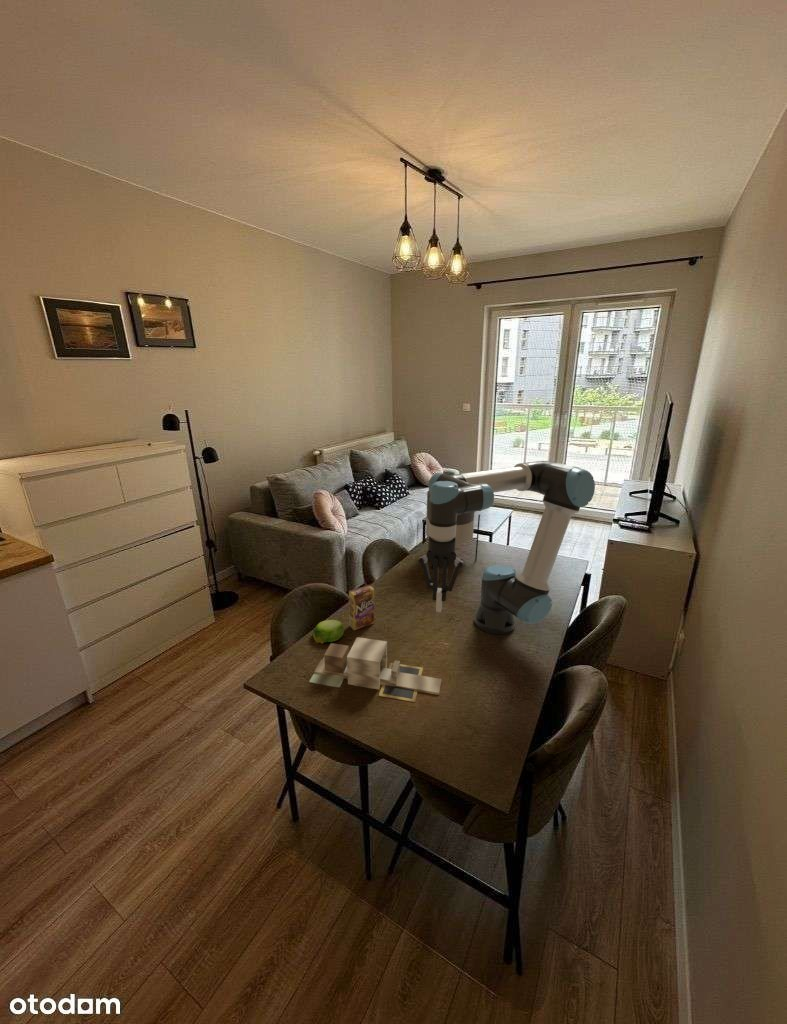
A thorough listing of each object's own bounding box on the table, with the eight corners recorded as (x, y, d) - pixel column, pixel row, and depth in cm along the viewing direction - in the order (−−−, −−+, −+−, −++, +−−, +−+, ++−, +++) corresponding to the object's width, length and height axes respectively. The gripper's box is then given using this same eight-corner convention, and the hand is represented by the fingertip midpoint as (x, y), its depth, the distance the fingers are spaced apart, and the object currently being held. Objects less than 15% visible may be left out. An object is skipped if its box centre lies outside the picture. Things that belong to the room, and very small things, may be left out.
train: (400, 671, 133) (400, 653, 130) (395, 685, 127) (396, 666, 125) (329, 660, 138) (328, 642, 136) (322, 672, 132) (321, 654, 130)
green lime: (331, 649, 145) (330, 637, 143) (307, 639, 150) (306, 627, 149) (350, 632, 154) (350, 620, 153) (327, 623, 160) (327, 612, 158)
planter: (460, 576, 195) (464, 505, 183) (414, 563, 208) (415, 495, 196) (481, 556, 216) (486, 491, 204) (438, 545, 228) (440, 483, 217)
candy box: (354, 631, 154) (353, 595, 149) (349, 625, 158) (347, 590, 153) (375, 623, 159) (374, 588, 154) (369, 618, 162) (368, 583, 157)
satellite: (443, 671, 134) (444, 644, 131) (437, 706, 121) (438, 677, 117) (326, 652, 143) (325, 627, 139) (308, 683, 129) (306, 656, 126)
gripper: (466, 533, 119) (461, 605, 126) (421, 529, 121) (419, 600, 129) (464, 544, 112) (459, 619, 120) (416, 539, 115) (415, 613, 122)
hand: (438, 609), depth 124 cm, fingers closed
